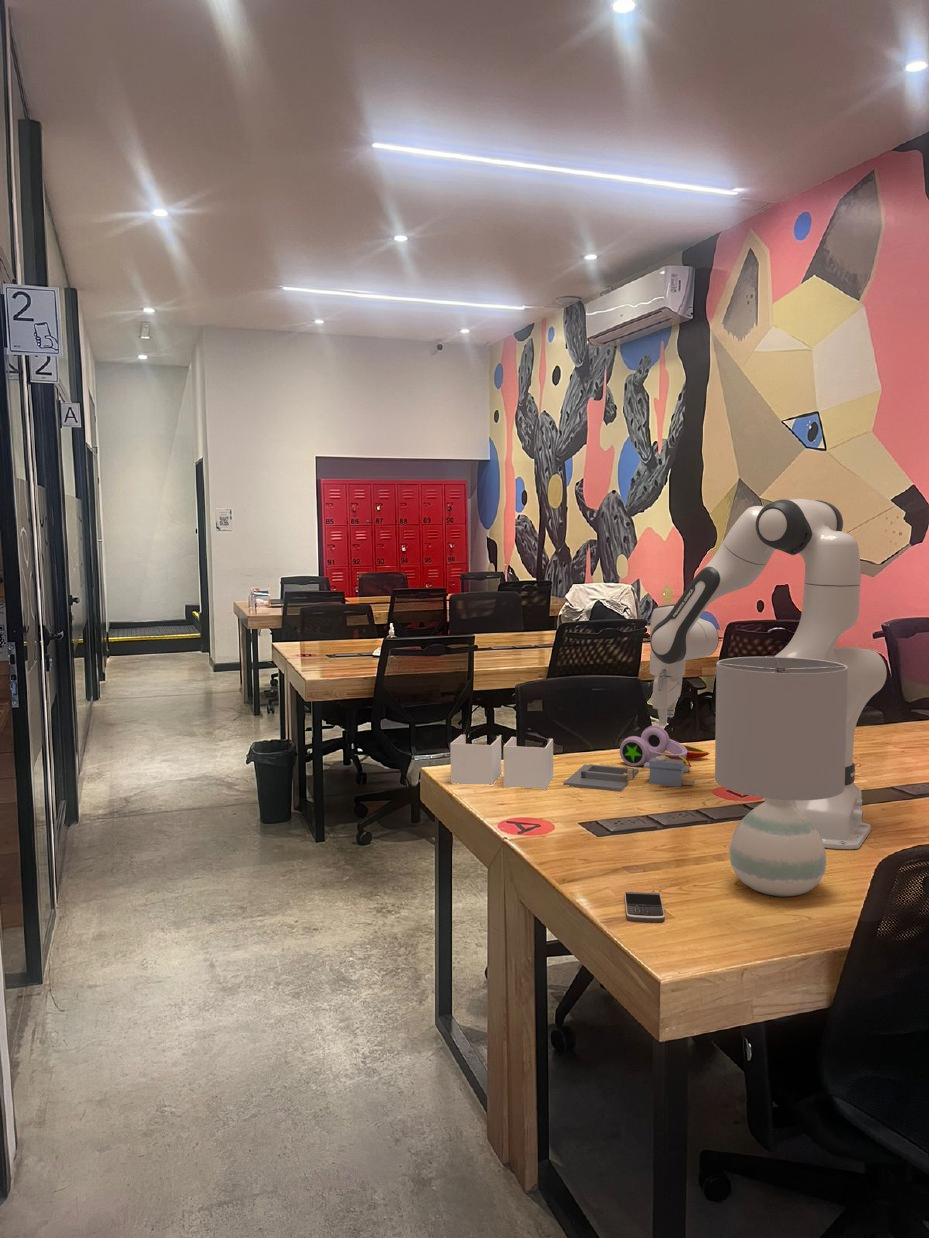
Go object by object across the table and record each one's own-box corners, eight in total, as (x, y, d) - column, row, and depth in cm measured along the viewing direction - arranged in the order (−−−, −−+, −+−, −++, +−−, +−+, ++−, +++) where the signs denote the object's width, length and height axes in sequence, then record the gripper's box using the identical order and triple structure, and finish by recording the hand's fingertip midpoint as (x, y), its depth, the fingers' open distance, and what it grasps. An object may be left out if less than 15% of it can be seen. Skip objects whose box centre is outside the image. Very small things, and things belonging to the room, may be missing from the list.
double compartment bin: (450, 785, 227) (450, 743, 226) (461, 774, 238) (461, 734, 237) (546, 790, 221) (546, 748, 220) (553, 779, 231) (553, 738, 230)
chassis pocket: (621, 791, 219) (621, 781, 219) (563, 785, 225) (563, 775, 224) (638, 772, 237) (638, 763, 237) (584, 767, 243) (584, 758, 243)
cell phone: (626, 924, 144) (626, 915, 144) (624, 897, 155) (624, 889, 154) (665, 925, 143) (665, 917, 143) (659, 898, 154) (659, 891, 154)
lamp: (832, 870, 165) (838, 658, 161) (850, 918, 144) (857, 675, 140) (713, 860, 170) (716, 655, 167) (713, 905, 150) (716, 671, 146)
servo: (692, 788, 222) (693, 761, 221) (643, 783, 226) (643, 757, 226) (695, 784, 225) (695, 758, 225) (646, 779, 230) (647, 753, 230)
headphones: (641, 725, 261) (707, 723, 251) (645, 757, 262) (711, 757, 251) (616, 737, 245) (685, 736, 234) (620, 772, 245) (690, 773, 234)
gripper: (672, 673, 213) (671, 729, 214) (686, 662, 232) (685, 714, 233) (646, 672, 215) (645, 727, 217) (662, 661, 234) (661, 712, 235)
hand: (666, 720), depth 225 cm, fingers open, 8 cm apart
